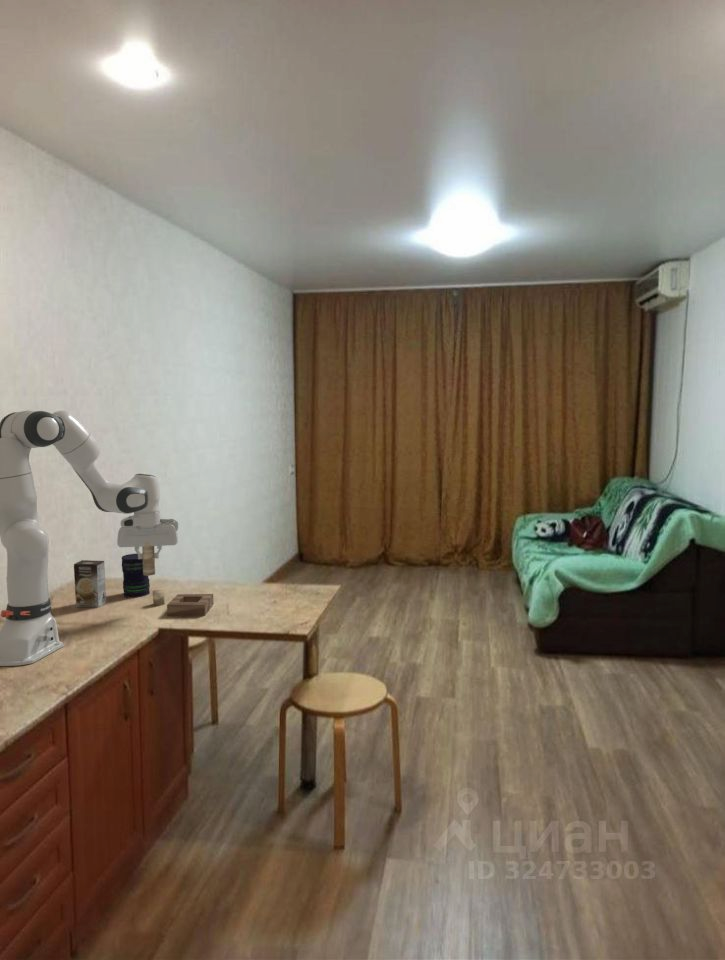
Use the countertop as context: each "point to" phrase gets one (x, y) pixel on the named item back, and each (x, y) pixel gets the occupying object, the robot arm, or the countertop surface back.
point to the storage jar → (134, 577)
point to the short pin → (158, 597)
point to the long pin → (148, 559)
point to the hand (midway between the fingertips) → (148, 558)
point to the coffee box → (89, 583)
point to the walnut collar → (190, 605)
